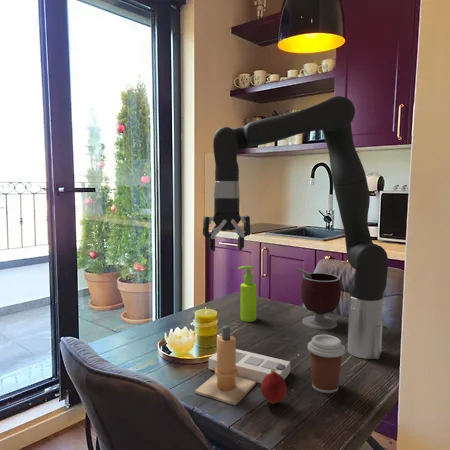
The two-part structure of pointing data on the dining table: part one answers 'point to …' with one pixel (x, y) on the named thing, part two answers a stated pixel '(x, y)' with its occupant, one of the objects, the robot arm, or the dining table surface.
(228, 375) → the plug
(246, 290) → the soap dispenser
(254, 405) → the dining table surface
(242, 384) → the cork mat
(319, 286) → the mate gourd
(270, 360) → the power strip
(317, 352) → the coffee cup
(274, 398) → the onion
